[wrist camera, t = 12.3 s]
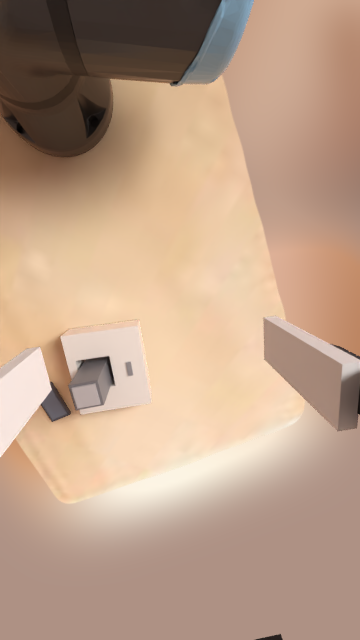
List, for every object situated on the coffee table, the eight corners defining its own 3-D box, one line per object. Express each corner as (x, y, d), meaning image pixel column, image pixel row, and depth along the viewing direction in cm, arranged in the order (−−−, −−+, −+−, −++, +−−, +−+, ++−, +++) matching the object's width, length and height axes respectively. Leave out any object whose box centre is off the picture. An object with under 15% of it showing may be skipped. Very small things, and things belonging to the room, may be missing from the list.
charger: (87, 356, 44) (67, 386, 34) (109, 352, 44) (96, 381, 34) (92, 377, 45) (75, 411, 35) (114, 373, 45) (103, 406, 36)
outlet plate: (68, 329, 43) (59, 337, 39) (139, 319, 43) (137, 326, 39) (86, 401, 46) (80, 415, 42) (151, 391, 47) (151, 403, 43)
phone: (34, 388, 45) (31, 391, 44) (52, 380, 45) (49, 383, 44) (54, 418, 47) (52, 422, 46) (71, 411, 47) (69, 415, 46)
